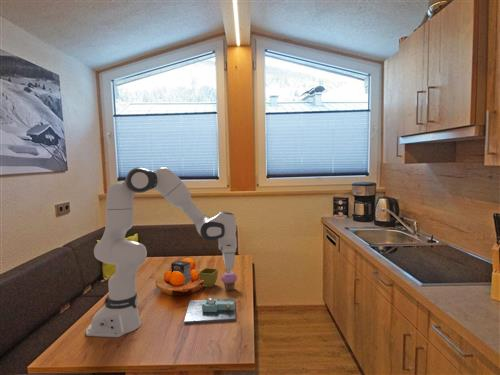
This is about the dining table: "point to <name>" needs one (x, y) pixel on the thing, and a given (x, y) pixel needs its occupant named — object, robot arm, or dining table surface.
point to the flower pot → (208, 276)
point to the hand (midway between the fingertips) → (228, 272)
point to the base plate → (198, 316)
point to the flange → (216, 306)
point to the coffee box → (182, 269)
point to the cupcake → (229, 280)
